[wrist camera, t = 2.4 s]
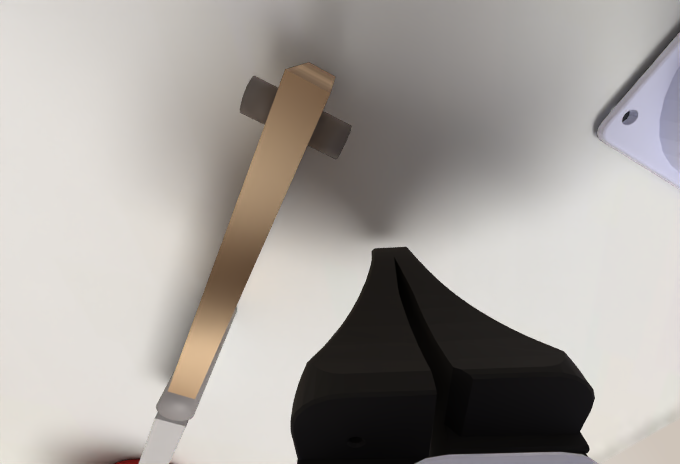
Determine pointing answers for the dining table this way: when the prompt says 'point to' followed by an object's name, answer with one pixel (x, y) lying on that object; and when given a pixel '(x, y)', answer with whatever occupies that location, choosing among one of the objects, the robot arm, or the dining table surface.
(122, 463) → the canned food
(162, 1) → the dining table surface
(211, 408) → the dining table surface
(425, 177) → the dining table surface
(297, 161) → the door
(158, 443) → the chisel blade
